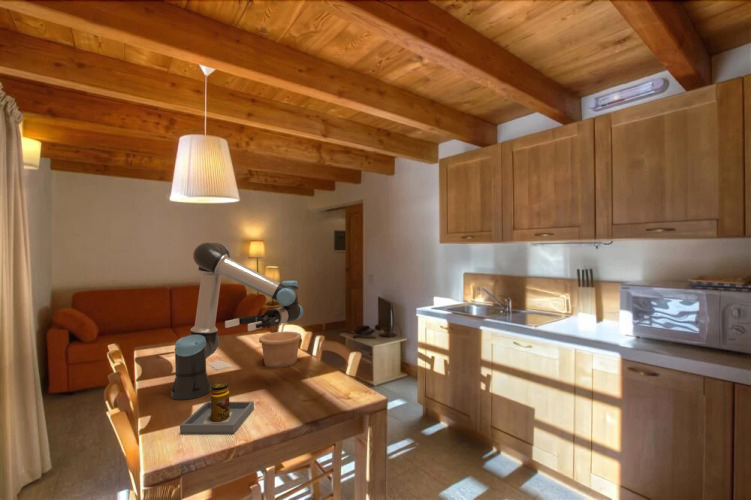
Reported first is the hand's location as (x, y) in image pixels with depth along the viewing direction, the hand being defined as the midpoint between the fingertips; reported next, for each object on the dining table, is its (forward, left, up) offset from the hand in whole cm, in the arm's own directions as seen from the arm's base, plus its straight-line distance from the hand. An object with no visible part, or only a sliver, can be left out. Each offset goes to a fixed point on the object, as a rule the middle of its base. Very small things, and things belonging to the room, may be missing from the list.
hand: (236, 326), depth 143 cm
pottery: (+4, +47, -30) cm, 56 cm away
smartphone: (-28, +43, -31) cm, 60 cm away
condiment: (0, -17, -29) cm, 34 cm away
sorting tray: (+1, -17, -30) cm, 35 cm away
